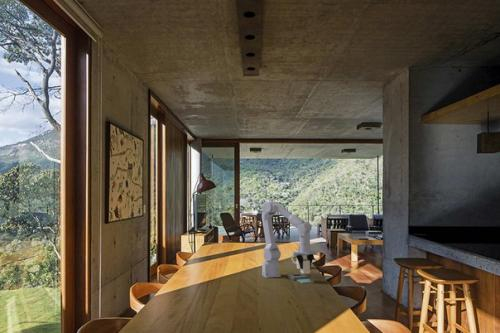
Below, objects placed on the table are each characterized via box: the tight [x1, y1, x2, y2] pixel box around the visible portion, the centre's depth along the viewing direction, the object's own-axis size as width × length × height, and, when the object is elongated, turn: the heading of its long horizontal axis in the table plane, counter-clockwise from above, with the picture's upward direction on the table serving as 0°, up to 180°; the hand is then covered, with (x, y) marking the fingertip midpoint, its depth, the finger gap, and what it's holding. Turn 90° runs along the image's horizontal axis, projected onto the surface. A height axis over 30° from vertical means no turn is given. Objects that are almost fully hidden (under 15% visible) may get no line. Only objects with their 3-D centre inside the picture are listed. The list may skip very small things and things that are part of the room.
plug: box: [299, 258, 311, 275], centre depth 219 cm, size 4×4×7 cm
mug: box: [290, 248, 307, 270], centre depth 255 cm, size 10×7×12 cm, turn 80°
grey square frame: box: [286, 272, 308, 281], centre depth 228 cm, size 9×9×2 cm
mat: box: [296, 278, 315, 284], centre depth 219 cm, size 7×7×1 cm
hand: (305, 268), depth 219 cm, fingers closed on plug, 4 cm apart
